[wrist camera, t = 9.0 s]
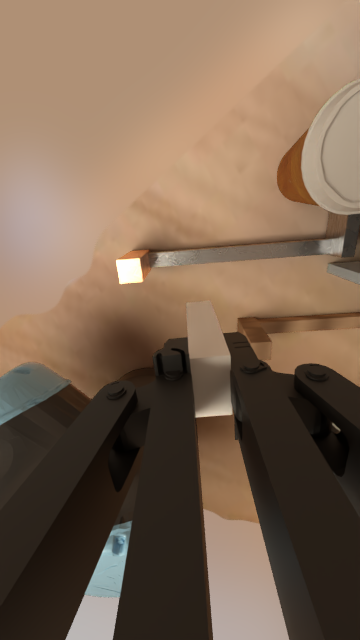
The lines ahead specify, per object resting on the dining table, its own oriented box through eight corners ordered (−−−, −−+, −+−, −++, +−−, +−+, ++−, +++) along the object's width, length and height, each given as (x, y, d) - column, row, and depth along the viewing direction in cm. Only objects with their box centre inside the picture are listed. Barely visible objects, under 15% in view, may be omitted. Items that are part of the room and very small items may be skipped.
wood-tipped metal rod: (133, 269, 34) (120, 283, 27) (112, 126, 28) (87, 94, 21) (334, 254, 33) (378, 264, 26) (358, 102, 27) (424, 58, 20)
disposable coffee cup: (253, 148, 29) (296, 105, 18) (336, 108, 28) (439, 34, 16) (274, 228, 32) (321, 233, 21) (349, 196, 31) (443, 184, 20)
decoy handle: (237, 333, 38) (250, 360, 31) (237, 318, 37) (251, 343, 30) (374, 324, 37) (421, 350, 30) (378, 308, 36) (427, 332, 29)
